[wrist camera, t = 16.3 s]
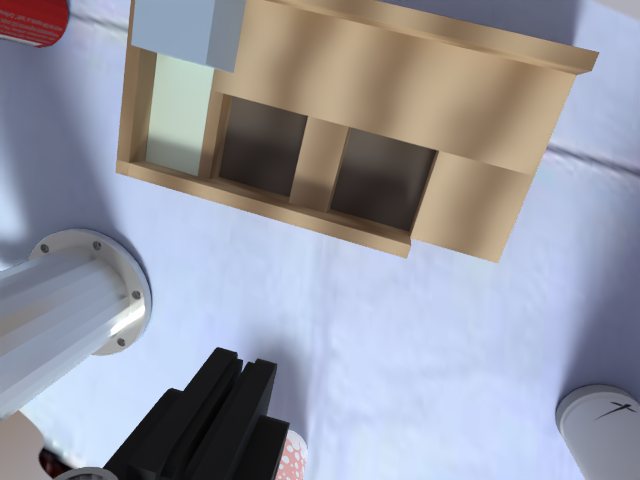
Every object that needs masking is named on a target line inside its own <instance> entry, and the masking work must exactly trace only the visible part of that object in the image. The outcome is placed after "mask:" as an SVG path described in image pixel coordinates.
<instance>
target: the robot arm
mask: <svg viewBox="0 0 640 480" xmlns="http://www.w3.org/2000/svg"><path fill="white" fill-rule="evenodd" d="M150 315H151V295H150V290H149V286H148V283H147V280H146V278H145V275H144V273H143V272H142V270H141V268H140V266H139V264H138V263H137V262H136V261H135V259H134V258H133V257H132V256H131V254H130V253H129V252H128V251H127V250H126V249H124V248H123V247H122V246H121V245H120V244H119V243H117V242H116V241H114V240H113V239H111V238H110V237H108V236H106V235H103V234H101V233H99V232H96V231H92V230H88V229H78V228H73V229H67V230H62V231H59V232H56V233H53V234H50V235H49V236H47V237H45V238H44V239H42V240H41V241H40V242H39V243H38V244H37V245H36V246H35V247H34V249H33V250H32V252H31V254H30V255H29V258H28V261H27V262H25V263H22V264H19V265H17V266H14V267H11V268H8V269H6V270H3V271H0V423H1V422H2V421H4V420H5V419H7V418H8V417H9V416H11V415H12V414H13V413H15V412H16V411H17V410H19V409H20V408H21V407H23V406H24V405H25V404H27V403H28V402H29V401H31V400H32V399H33V398H35V397H36V396H37V395H38V394H40V393H41V392H42V391H44V390H45V389H46V388H48V387H49V386H50V385H52V384H53V383H54V382H56V381H57V380H58V379H60V378H61V377H62V376H64V375H65V374H66V373H68V372H69V371H70V370H72V369H73V368H74V367H76V366H77V365H78V364H80V363H81V362H82V361H83V360H85V359H86V358H87V357H89V356H90V355H96V356H105V355H113V354H116V353H119V352H121V351H123V350H125V349H126V348H128V347H130V346H131V345H132V344H133V343H134V342H136V341H137V340H138V339H139V338H140V336H141V335H142V334H143V333H144V331H145V329H146V327H147V325H148V323H149V319H150ZM237 357H238V354H237V352H233V351H230V350H226V349H223V348H219V347H217V348H216V349H215V350H214V351H213V353H212V354H211V355H210V357H209V358H208V359H207V361H206V362H205V363H204V364H203V366H202V367H201V368H200V370H199V371H198V372H197V374H196V375H195V376H194V378H193V379H192V380H191V381H190V383H189V384H188V385H187V387H186V388H185V389H184V391H180V390H177V389H174V388H170V389H168V390H167V391H166V392H165V393H164V394H163V396H162V397H161V398H160V399H159V400H158V402H157V403H156V404H155V405H154V407H153V408H152V409H151V410H150V411H149V413H148V414H147V415H146V416H145V417H144V419H143V420H142V421H141V422H140V423H139V425H138V426H137V427H136V428H135V429H134V431H133V432H132V433H131V434H130V436H129V437H128V438H127V439H126V440H125V442H124V443H123V444H122V445H121V446H120V448H119V449H118V450H117V451H116V452H115V454H114V455H113V456H112V457H111V458H110V460H109V461H108V462H107V463H106V464H105V466H104V467H103V468H99V467H83V468H78V469H73V470H71V471H68V472H66V473H64V474H61V475H59V476H57V477H56V478H55V479H53V480H275V479H276V476H277V472H278V468H279V465H280V461H281V457H282V454H283V450H284V446H285V442H286V438H287V433H288V429H289V424H290V423H288V422H285V421H281V420H278V419H275V418H271V417H268V416H266V415H267V411H268V406H269V402H270V397H271V393H272V388H273V384H274V379H275V374H276V370H277V364H276V363H272V362H269V361H265V360H262V359H257V360H256V361H255V363H251V362H248V363H247V364H246V366H245V368H244V370H243V371H242V366H243V360H241V359H238V358H237ZM241 371H242V373H241Z"/></svg>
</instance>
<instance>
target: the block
mask: <svg viewBox="0 0 640 480" xmlns="http://www.w3.org/2000/svg"><path fill="white" fill-rule="evenodd" d="M245 4H246V0H135V9H134V19H133V30H132V41H131V45H133V46H136V47H140V48H143V49H146V50H149V51H153V52H156V53H159V54H162V55H165V56H169V57H172V58H176V59H180V60H184V61H188V62H192V63H195V64H199V65H203V66H207V67H211V68H214V69H218V70H222V71H226V72H230V73H234V69H235V63H236V57H237V51H238V45H239V39H240V33H241V28H242V22H243V16H244V10H245Z"/></svg>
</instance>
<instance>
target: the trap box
mask: <svg viewBox="0 0 640 480" xmlns="http://www.w3.org/2000/svg"><path fill="white" fill-rule="evenodd" d="M134 9H135V0H131V6H130V17H129V28H128V39H127V50H126V62H125V73H124V84H123V95H122V106H121V118H120V129H119V140H118V151H117V162H116V173H119V174H122V175H125V176H129V177H132V178H136V179H139V180H142V181H146V182H149V183H153V184H156V185H159V186H163V187H166V188H169V189H173V190H176V191H180V192H183V193H186V194H190V195H193V196H197V197H200V198H203V199H207V200H210V201H214V202H217V203H220V204H224V205H227V206H230V207H234V208H237V209H241V210H244V211H247V212H251V213H254V214H258V215H261V216H264V217H268V218H271V219H274V220H278V221H281V222H285V223H288V224H291V225H295V226H298V227H302V228H305V229H308V230H312V231H315V232H318V233H322V234H325V235H329V236H332V237H335V238H339V239H342V240H346V241H349V242H352V243H356V244H359V245H362V246H366V247H369V248H373V249H376V250H379V251H383V252H386V253H390V254H393V255H396V256H400V257H403V258H406V259H407V256H408V253H409V250H410V248H411V240H410V238H412V239H416V240H419V241H423V242H426V243H430V244H433V245H437V246H440V247H443V248H447V249H450V250H454V251H457V252H461V253H464V254H468V255H471V256H474V257H478V258H481V259H485V260H488V261H492V262H495V263H498V262H499V260H500V257H501V255H502V252H503V250H504V248H505V245H506V243H507V240H508V238H509V236H510V233H511V231H512V228H513V226H514V224H515V221H516V219H517V217H518V214H519V212H520V209H521V207H522V205H523V202H524V200H525V197H526V195H527V193H528V190H529V188H530V185H531V183H532V181H533V178H534V176H535V173H536V171H537V169H538V166H539V164H540V162H541V159H542V157H543V154H544V152H545V150H546V147H547V145H548V142H549V140H550V138H551V135H552V133H553V130H554V128H555V126H556V123H557V121H558V118H559V116H560V114H561V111H562V109H563V107H564V104H565V102H566V99H567V97H568V95H569V92H570V90H571V87H572V85H573V83H574V80H575V78H576V75H579V74H582V73H586V72H589V71H592V69H593V66H594V64H595V62H596V59H597V57H598V55H599V52H595V51H591V50H587V49H582V48H578V47H574V46H569V45H565V44H561V43H556V42H552V41H548V40H544V39H539V38H535V37H531V36H526V35H522V34H518V33H514V32H509V31H505V30H501V29H496V28H492V27H488V26H484V25H479V24H475V23H471V22H466V21H462V20H458V19H453V18H449V17H445V16H441V15H436V14H432V13H428V12H423V11H419V10H415V9H411V8H406V7H402V6H398V5H393V4H389V3H385V2H380V1H376V0H246V4H245V10H244V16H243V22H242V28H241V33H240V39H239V45H238V51H237V57H236V63H235V69H234V73H230V72H226V71H222V70H218V69H214V71H213V72H214V73H213V74H214V75H213V81H212V84H211V85H212V88H211V91H210V92H211V95H210V97H209V100H210V101H209V105H208V106H209V108H208V110H207V111H208V112H207V113H208V114H207V117H206V123H205V125H206V127H205V130H204V136H203V137H204V139H203V143H202V146H203V147H202V149H201V157H200V158H201V160H200V163H199V169H198V171H199V172H198V175H197V176H195V175H192V174H188V173H185V172H181V171H178V170H174V169H171V168H168V167H164V166H161V165H157V164H154V163H150V162H147V161H145V159H146V150H147V141H148V132H149V123H150V114H151V105H152V96H153V88H154V79H155V70H156V61H157V53H156V52H153V51H149V50H146V49H143V48H140V47H136V46H133V45H131V41H132V30H133V19H134Z"/></svg>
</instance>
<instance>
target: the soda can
mask: <svg viewBox="0 0 640 480" xmlns="http://www.w3.org/2000/svg"><path fill="white" fill-rule="evenodd" d="M67 23H68V7H67V2H66V0H0V39H3V40H7V41H12V42H17V43H21V44H26V45H30V46H35V47H39V48H40V47H46V46H52V45H53V44H54V43H56V42H57V41H58V40H59V39H60V38H61V37H62V35H63V33H64V32H65V30H66V27H67Z"/></svg>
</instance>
